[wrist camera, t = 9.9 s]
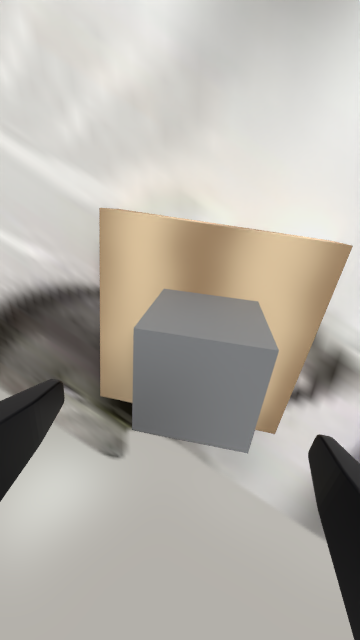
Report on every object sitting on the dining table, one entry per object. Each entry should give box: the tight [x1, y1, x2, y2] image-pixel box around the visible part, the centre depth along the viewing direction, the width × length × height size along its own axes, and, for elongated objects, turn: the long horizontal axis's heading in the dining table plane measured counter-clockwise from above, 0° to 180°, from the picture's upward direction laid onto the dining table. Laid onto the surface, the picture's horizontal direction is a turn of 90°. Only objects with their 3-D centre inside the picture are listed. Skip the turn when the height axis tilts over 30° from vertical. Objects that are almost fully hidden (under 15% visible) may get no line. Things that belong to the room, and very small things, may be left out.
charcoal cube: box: [132, 289, 279, 453], centre depth 12 cm, size 5×5×5 cm
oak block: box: [100, 208, 352, 434], centre depth 15 cm, size 12×12×3 cm
